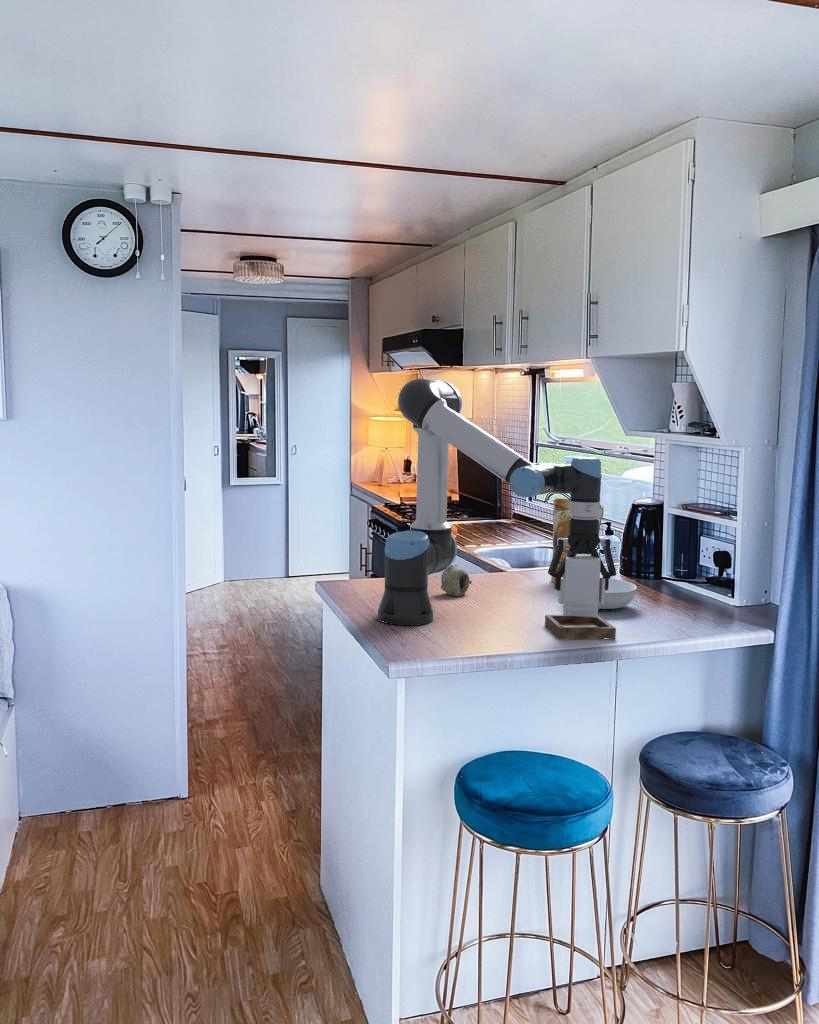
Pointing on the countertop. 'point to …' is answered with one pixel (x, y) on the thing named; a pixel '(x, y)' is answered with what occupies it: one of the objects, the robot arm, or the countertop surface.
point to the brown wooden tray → (579, 627)
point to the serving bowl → (618, 594)
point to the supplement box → (581, 586)
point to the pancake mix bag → (564, 526)
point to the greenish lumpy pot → (455, 581)
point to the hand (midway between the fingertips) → (580, 602)
